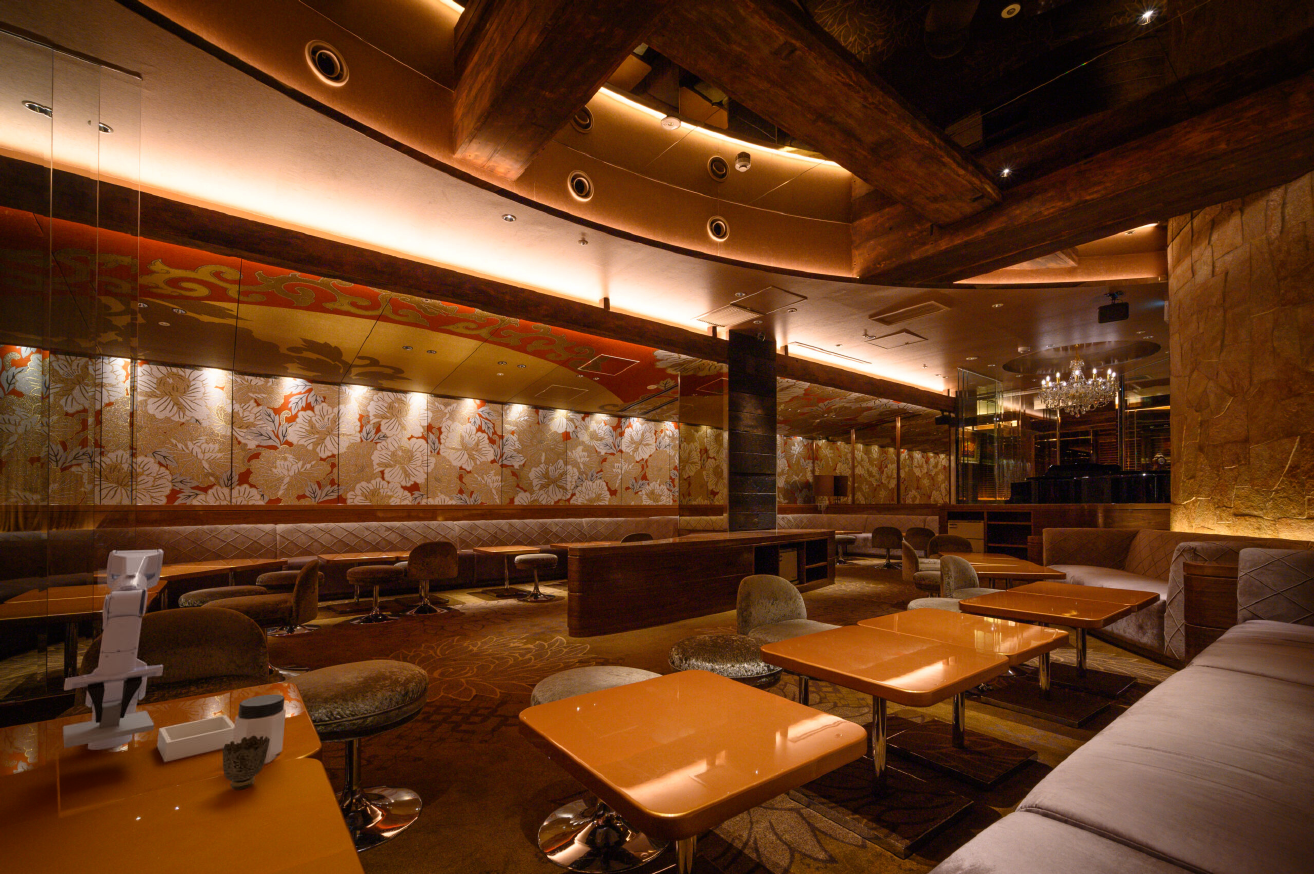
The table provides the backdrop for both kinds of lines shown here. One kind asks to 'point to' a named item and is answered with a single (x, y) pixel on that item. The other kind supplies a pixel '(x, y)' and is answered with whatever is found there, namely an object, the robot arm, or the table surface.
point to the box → (195, 737)
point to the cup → (244, 760)
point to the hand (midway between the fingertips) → (109, 719)
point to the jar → (262, 722)
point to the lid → (107, 726)
